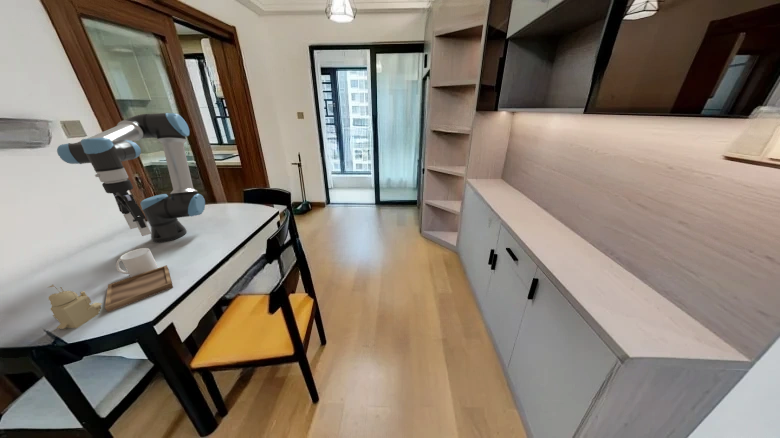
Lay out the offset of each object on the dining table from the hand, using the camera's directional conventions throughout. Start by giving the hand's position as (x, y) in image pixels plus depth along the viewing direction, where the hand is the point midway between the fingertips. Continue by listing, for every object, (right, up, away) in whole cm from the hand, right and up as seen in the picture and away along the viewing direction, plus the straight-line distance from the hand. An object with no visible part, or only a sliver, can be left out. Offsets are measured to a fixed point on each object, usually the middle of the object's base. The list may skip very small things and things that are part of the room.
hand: (140, 231), depth 102 cm
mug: (-6, -18, +6) cm, 20 cm away
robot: (-2, -29, -18) cm, 34 cm away
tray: (+5, -22, -4) cm, 23 cm away
